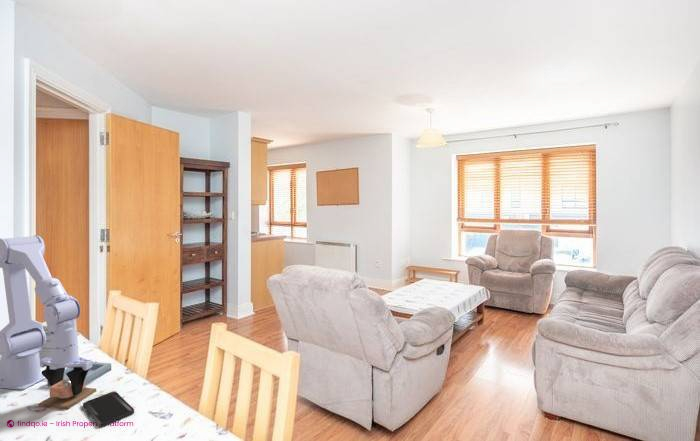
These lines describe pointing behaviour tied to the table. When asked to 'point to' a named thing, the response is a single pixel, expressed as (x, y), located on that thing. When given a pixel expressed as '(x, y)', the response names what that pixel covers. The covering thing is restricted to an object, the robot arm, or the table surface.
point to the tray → (92, 371)
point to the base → (66, 404)
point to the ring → (61, 390)
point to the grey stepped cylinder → (66, 383)
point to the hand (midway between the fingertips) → (68, 392)
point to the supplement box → (46, 344)
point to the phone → (108, 409)
